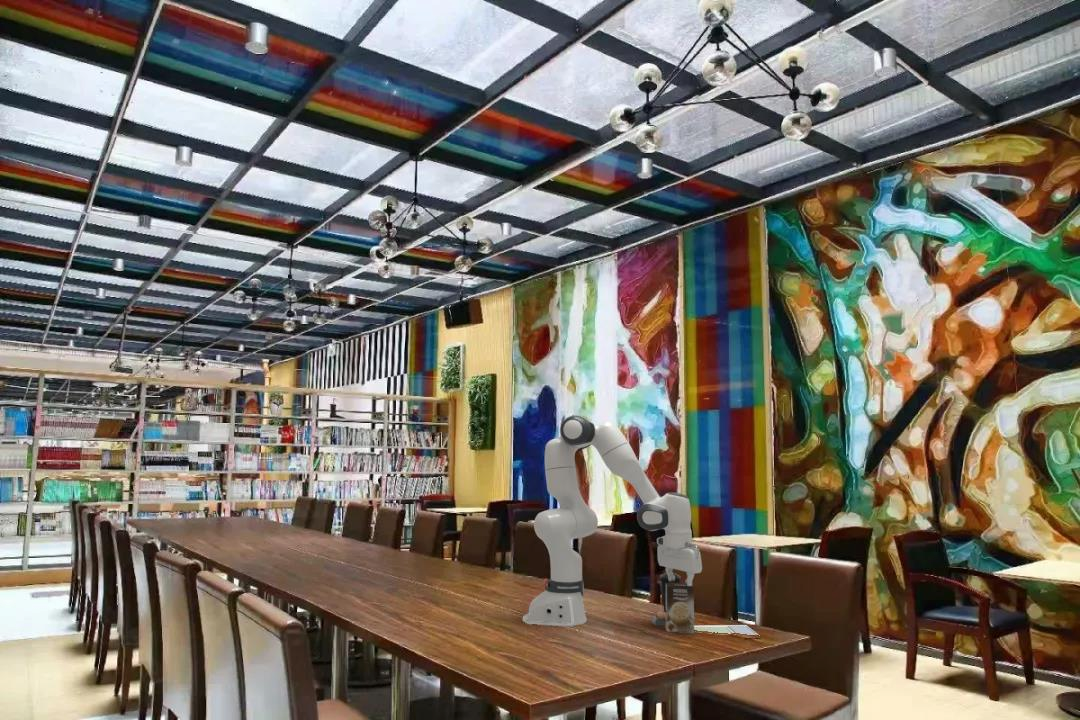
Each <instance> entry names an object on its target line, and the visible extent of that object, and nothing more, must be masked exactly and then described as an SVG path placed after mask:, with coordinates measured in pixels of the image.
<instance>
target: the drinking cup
mask: <svg viewBox="0 0 1080 720" xmlns="http://www.w3.org/2000/svg"><path fill="white" fill-rule="evenodd" d="M673 575H674V576H675V581H669V580H668V574H667V572H664V573H663V574H660V575H659V577H660V583H661V593H662V594H661V595H662V604H663V612H666V582H673V583H681V578H682V577H681V575H679V574H677V573H675V572H673Z"/></svg>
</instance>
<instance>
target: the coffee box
mask: <svg viewBox="0 0 1080 720" xmlns="http://www.w3.org/2000/svg"><path fill="white" fill-rule="evenodd" d="M694 599H695V587H694V585H693V583H692V586H687V585H685V582H680V583H673V582H666V626H665V630H666V632H668V633H670V632H672V633H673V632H674V633H675V632H679V633H678V634H695V631H694V625H695V600H694Z"/></svg>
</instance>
